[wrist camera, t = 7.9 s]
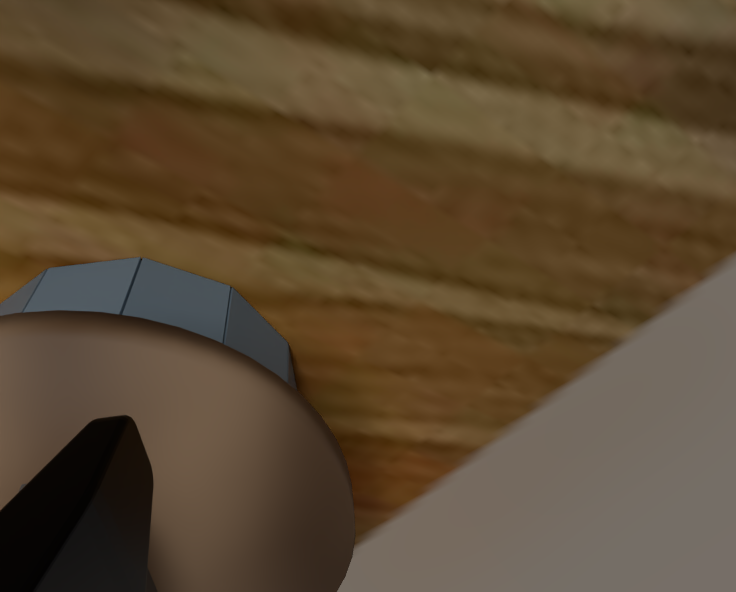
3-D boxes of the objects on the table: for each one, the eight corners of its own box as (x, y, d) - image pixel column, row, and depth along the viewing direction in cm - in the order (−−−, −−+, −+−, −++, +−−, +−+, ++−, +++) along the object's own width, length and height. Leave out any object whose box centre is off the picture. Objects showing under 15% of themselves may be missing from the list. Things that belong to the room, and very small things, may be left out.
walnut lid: (321, 275, 15) (329, 398, 12) (372, 624, 22) (385, 763, 19) (-295, 350, 15) (-469, 500, 11) (-43, 681, 22) (-104, 833, 18)
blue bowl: (269, 241, 20) (262, 345, 16) (314, 481, 26) (318, 606, 21) (-83, 284, 20) (-184, 401, 16) (38, 517, 25) (-12, 650, 21)
